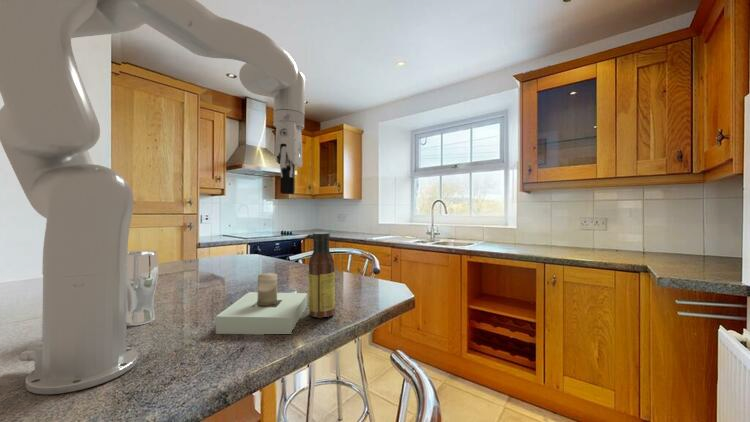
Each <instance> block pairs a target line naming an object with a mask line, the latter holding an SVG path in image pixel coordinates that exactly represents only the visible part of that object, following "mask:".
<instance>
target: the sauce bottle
mask: <svg viewBox="0 0 750 422" xmlns="http://www.w3.org/2000/svg"><path fill="white" fill-rule="evenodd" d="M330 235H331V233H330V232H327V231H325V232H324V231H323V232H322V231H321V232H317V231H316V232H313V233H312V240H313V248H312V254H311V256H310V258H309V260H308V310H309V315H310V317H312V316H313V317H312V318H314V317H319V318H318V319H323V318H322V317H328V316H331V315H333V314H334V315H335V311H336V293H335V292H336V289H335V288H336V285H335V284H336V281H335V280H336V276H335V275H336V273H335V260H334V259H333V256H332V254H331V251H330V238H331V236H330ZM334 315H333V316H334ZM331 317H332V316H331ZM328 318H329V317H328Z"/></svg>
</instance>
